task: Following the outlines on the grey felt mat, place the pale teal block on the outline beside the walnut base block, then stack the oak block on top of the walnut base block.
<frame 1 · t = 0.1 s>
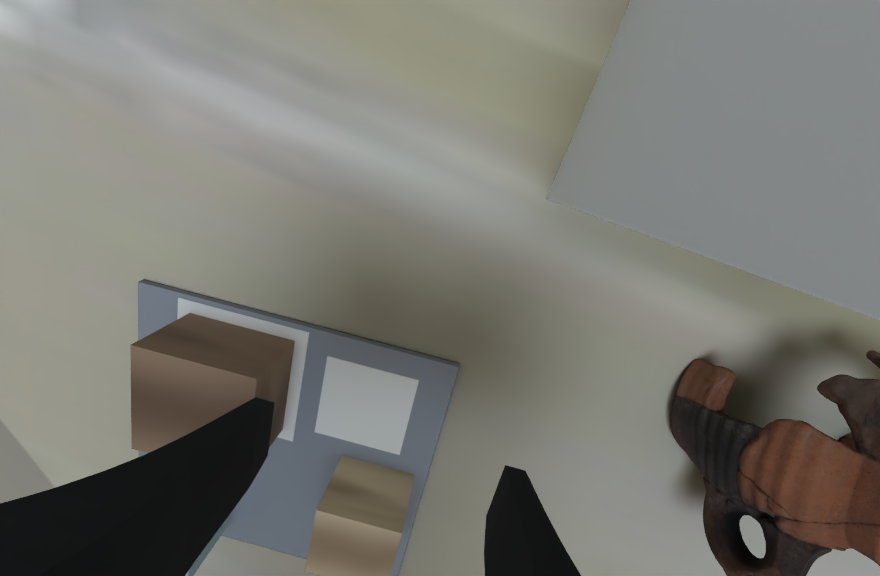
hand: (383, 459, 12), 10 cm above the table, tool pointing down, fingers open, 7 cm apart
pottery mug: (751, 420, 22), on the table
milk: (728, 109, 18), on the table
teal block: (197, 489, 27), resting on blueprint mat
oak block: (371, 493, 25), resting on blueprint mat
blueprint mat: (283, 444, 25), on the table
walnut base: (238, 373, 23), resting on blueprint mat
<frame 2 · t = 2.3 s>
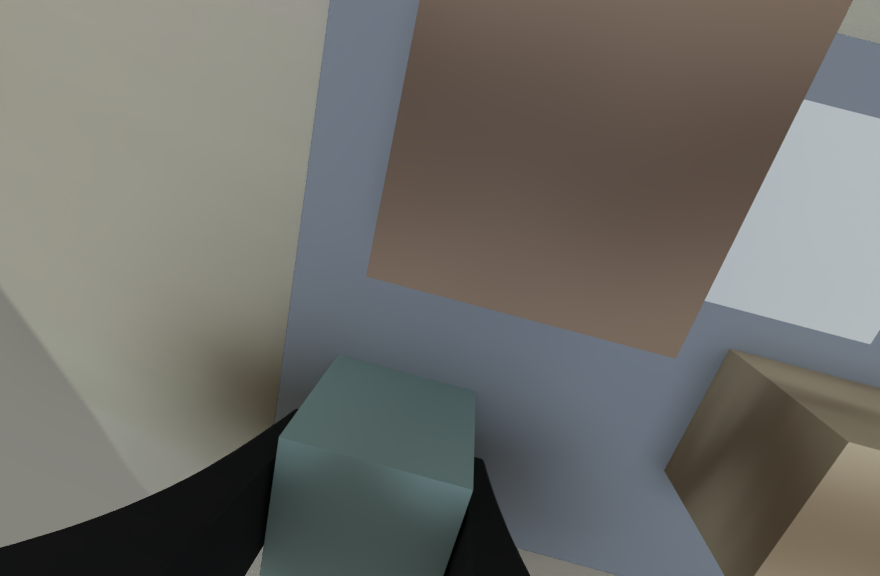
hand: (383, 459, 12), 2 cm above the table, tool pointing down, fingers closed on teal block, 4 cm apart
teal block: (392, 430, 14), resting on blueprint mat, touching gripper
oak block: (767, 432, 12), resting on blueprint mat
blueprint mat: (588, 331, 12), on the table
walnut base: (541, 154, 11), resting on blueprint mat
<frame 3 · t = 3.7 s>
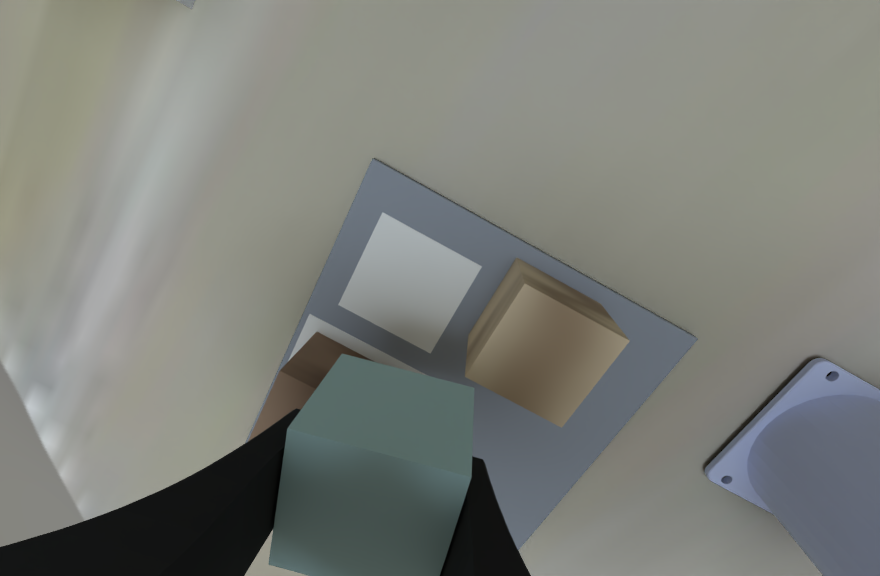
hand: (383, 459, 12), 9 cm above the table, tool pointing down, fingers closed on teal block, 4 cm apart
teal block: (394, 426, 14), point 7 cm above the table, touching gripper
oak block: (532, 319, 20), resting on blueprint mat
blueprint mat: (446, 394, 22), on the table
walnut base: (346, 401, 22), resting on blueprint mat
when the fingers open (3 cm above the table, at t = 5.5 s): teal block stays where it is, resting on blueprint mat.
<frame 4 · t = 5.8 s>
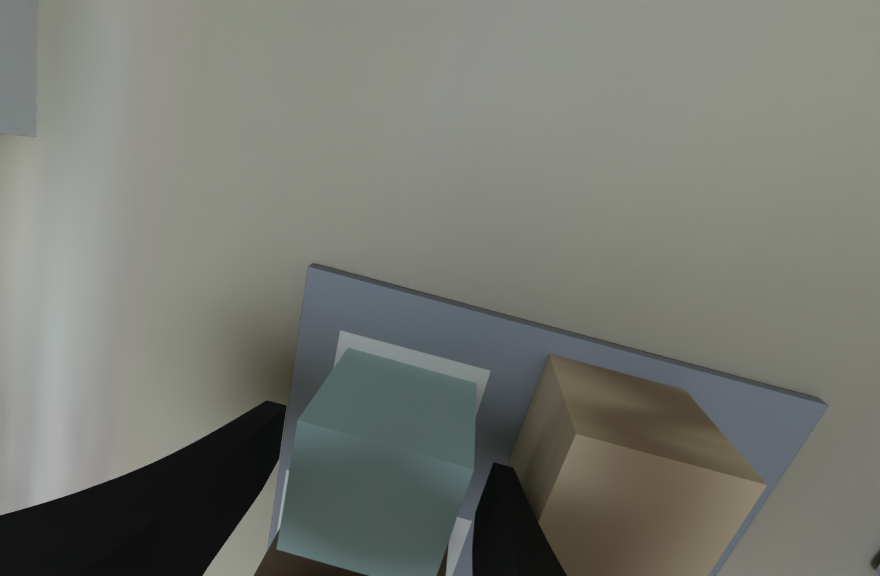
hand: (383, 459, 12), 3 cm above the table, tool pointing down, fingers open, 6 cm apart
teal block: (398, 419, 15), resting on blueprint mat
oak block: (591, 427, 14), resting on blueprint mat, touching gripper
blueprint mat: (487, 529, 16), on the table
walnut base: (361, 562, 17), resting on blueprint mat
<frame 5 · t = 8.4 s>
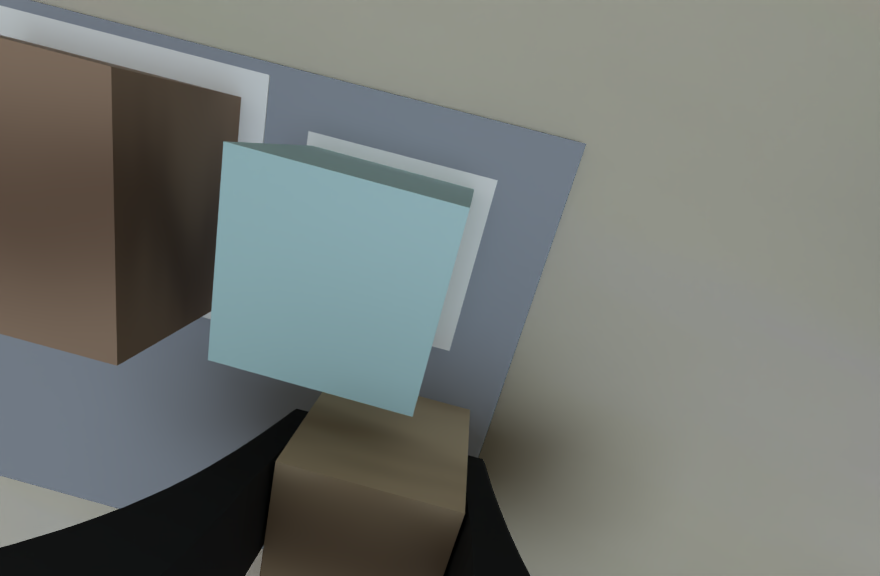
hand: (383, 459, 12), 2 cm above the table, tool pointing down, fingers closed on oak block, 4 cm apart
teal block: (376, 246, 12), resting on blueprint mat
oak block: (388, 446, 14), resting on blueprint mat, touching gripper
blueprint mat: (230, 339, 14), on the table
walnut base: (133, 182, 12), resting on blueprint mat
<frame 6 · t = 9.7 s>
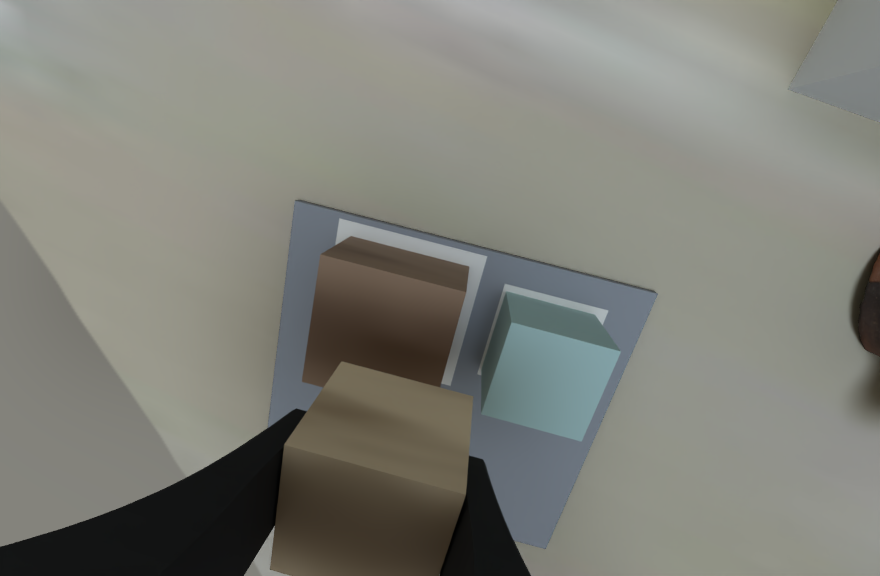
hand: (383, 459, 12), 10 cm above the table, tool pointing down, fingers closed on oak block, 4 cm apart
teal block: (536, 342, 21), resting on blueprint mat
oak block: (394, 432, 14), point 8 cm above the table, touching gripper
blueprint mat: (435, 390, 23), on the table
walnut base: (397, 306, 21), resting on blueprint mat
when the fingers open (7 cm above the table, at t = 11.0 s): oak block stays where it is, resting on walnut base.
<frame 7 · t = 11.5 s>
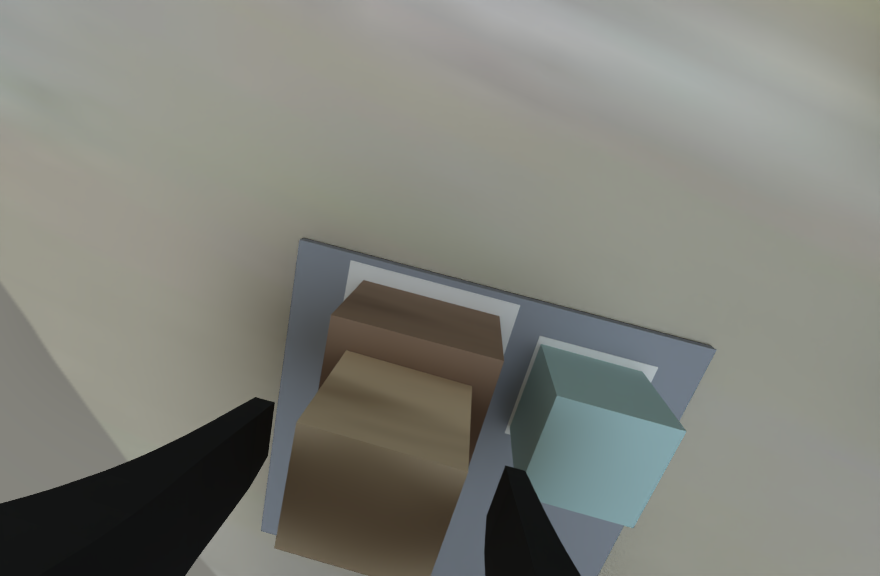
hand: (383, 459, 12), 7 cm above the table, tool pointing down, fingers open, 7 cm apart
teal block: (573, 400, 18), resting on blueprint mat
oak block: (394, 421, 15), point 4 cm above the table, touching walnut base
blueprint mat: (455, 448, 20), on the table
walnut base: (416, 358, 18), resting on blueprint mat, touching oak block
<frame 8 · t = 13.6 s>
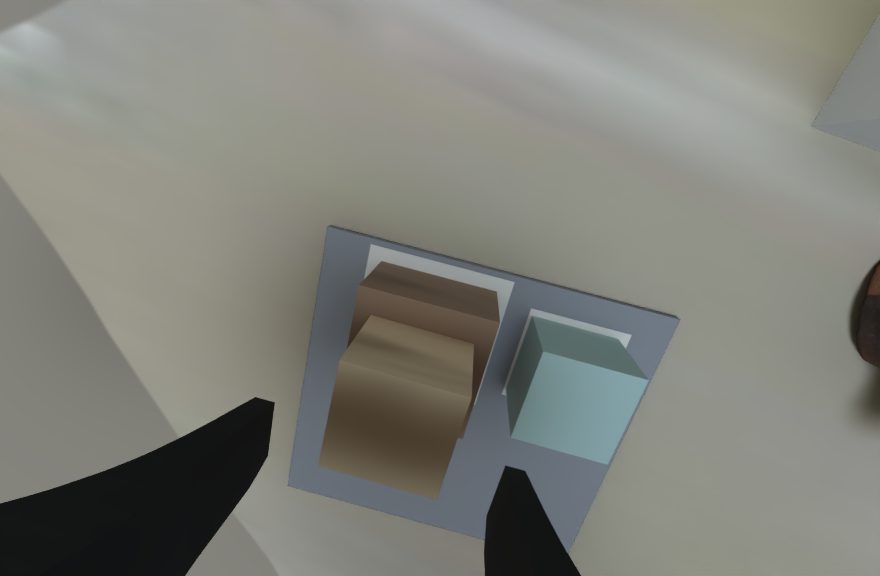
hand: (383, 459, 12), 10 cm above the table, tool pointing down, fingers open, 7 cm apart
teal block: (560, 365, 21), resting on blueprint mat
oak block: (410, 374, 18), point 4 cm above the table, touching walnut base
blueprint mat: (459, 409, 23), on the table
walnut base: (425, 328, 22), resting on blueprint mat, touching oak block
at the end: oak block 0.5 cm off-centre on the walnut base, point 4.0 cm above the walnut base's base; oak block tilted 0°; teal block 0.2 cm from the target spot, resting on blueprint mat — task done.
